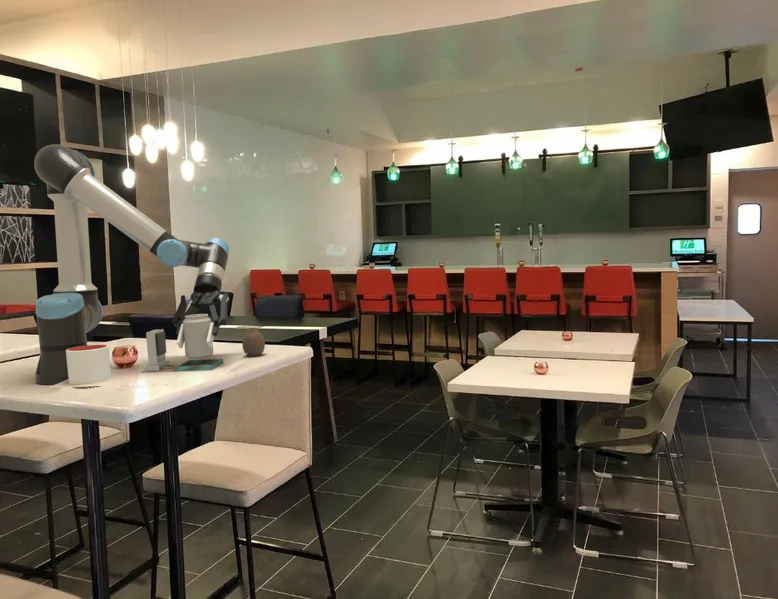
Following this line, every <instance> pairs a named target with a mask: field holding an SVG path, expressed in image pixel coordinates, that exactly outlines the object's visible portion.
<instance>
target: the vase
mask: <svg viewBox="0 0 778 599" xmlns="http://www.w3.org/2000/svg"><path fill="white" fill-rule="evenodd" d="M241 342H242V344H241V345H242V350H243V352H244V354H245V355H246V356H247V357H249V356H250V357H253V358H255V357H258V356H259V357H260V356H261V355H262V354H263V353H264V351H265V349H266V348H265V347H266V342H265V339H264V336H263V335H262V333H261V332H260V331H259V330H258V328H257V327H248V329H247V332H246V333H245V335H244V336H243V338H242V341H241Z"/></svg>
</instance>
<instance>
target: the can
mask: <svg viewBox="0 0 778 599" xmlns="http://www.w3.org/2000/svg"><path fill="white" fill-rule="evenodd" d="M211 322H212V319H211V318H210V317H209V314H208V313H197V314H196V313H195V314H194V315H187V316H185V320H184V321H183V330H184V353H185V354H184V355H185V357H187V359H188V360H202V359H208V358H211V357H212V355H213V354H214V343H213V344H212V347H209V346H208V344H207V342H206V341H207V337H208V332H209V327H210V323H211Z"/></svg>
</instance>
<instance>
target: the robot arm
mask: <svg viewBox="0 0 778 599" xmlns="http://www.w3.org/2000/svg"><path fill="white" fill-rule="evenodd" d="M33 161H34V163H33V164H34V169H35V173H36V175H37V176H38V178H39V179H40V180H42V181H43V183H45V184H46V191H47V193H46V194H47V197H48V198H49V199H50V200H52V201H53V206H54V207H53V208H54V209H53V210H54V211H53V212H54V225H55V240H56V241H55V242H56V257H57V270H58V271H57V272H58V285H57V286H56V287H55V288H54V289H53V294H48V295H43V296H41V297H39V298H38V299H37V300H36V302H35V315H36V324H37V333H38V334H37V335H38V342H39V358H38V362H37V367H36V370H35V374H34V378H35V379H34V380H35V383H36V384H40V385H56V384H60V383H62V382H65V381H67V380H68V381H69V379H68V368H67V357H66V350H67V349H69V348H73V347H79V346H87V345H88V340H87V334H88V333H90V332H92V331H94V329H95V328H97V326H98V325H99V324H100V323H101V321H102V319H103V315H104V313H103V312H104V311H103V306H102V304H101V302H100V300H99V297H98V296H99V295H98V294H99V293H98V287H97V286H95V285H94V284H93V283H92V272H91V271H92V270H91V256H90V255H91V254H90V253H91V252H90V237H89V219H88V208H89V209H90V210H91V211H93V212H94V213H95V214H97V215H98V216H99V217H101V218H103V219H104V220H106V221H107V223H109V224H111V225H113V227H115V228H116V229H117V230H119V231H120V232H122V233H123V234H124V235H125V236H127V237H129V238H130V239H131V240H133V241H134V242H135V243H137V244H138V245H140V246H141V247H142V248H143V249H145V250H147V251H148V252H149V253H151V254H152V255H153V256H154V257H156V258H157V259H158V260H159V262H161V264H163V265H164V266H166V267H168V268H176V267H180V266H182V267H188V268H189V267H190V268H197V269H198V271H197V274H196V279H195V282H194V285H193V286H194V287H193V292H192V293H191V294H190V295H188V296H186V295H185V294H184V295H181V296H180V302H179V304H178V307H177V309H176V312H175V313H174V316H173V318H172V323H173V326H174V327H175V328H176V332H175V334H176V336H177V339H176V344H177V346H178V348H179V349H183V347H184V345H185V343H184V330H183V321H184V320H185V316H187V315H194V314H196V313H199V311H200V309H201V310H202V309H209V310H210V314H211V317H212V321H213V322H212V321H211V323H210V327H209V332H208V337H207V341H206V342H207V344H208V346H209V347H212V344H213V345H214V338H215V337H217V336H218V335H219V331H220V330H219V329H220V328H221V326H227V324H228V304H229V303H230V298H229V296H228V293H226V292H225V293H223V294H221V290H222V286H223V282H224V277H225V272H226V267H227V264H228V260H229V252H230V246H229V244H228V242H226V241H225V240H224V239H223V238H220V237H211V238H208V239H207V240H205V242H204V243H202V242H194V241H187V240H181V239H178V238H177V237H175V235H173V234H172V233H170V232H168V231H167V230H166V229H165V228H163V227H162V226H160V225H159V224H158V223H156V222H155V221H153V220H152V218H149V217H148V216H147V215H145V213H143V212H142V211H140V210H139V209H137V208H136V207H135V206H133V204H131V203H130V202H128V201H127V200H125V198H122V197H121V196H120V195H119V194H117V192H115V191H113V190H112V189H111V188H110V187H108V186H107V185H105V184H104V183H103V182H102V181H100V180H99V179H97V178H96V171H95V167H94V165H93V163H92V162H91V161H90V159H89V158H88V157H87V156H86V155H85V154H83V153H82V152H79V151H78V150H75V149H72V148H70V147H68V146H66V145H63V144H57V143H55V144H54V143H53V144H48V145H46V146H43V147H42V148H41V149H39V151H38V152H37V153H36V155H35V157H34V160H33ZM219 301H220V318H219V316H218V313H217V310H216V306H215V304H216V303H218V302H219ZM189 305H190V306H189ZM188 306H189V307H188Z"/></svg>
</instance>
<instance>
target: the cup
mask: <svg viewBox="0 0 778 599" xmlns="http://www.w3.org/2000/svg"><path fill="white" fill-rule="evenodd" d="M66 357H67V368H68V384H71V385H86V386H71V388H73V389H76V390H86V389H87V390H88V388H89V389H95V387H96V388H100V387H101V385H93V386H92V385H91V386H87V385H88V384H95V383H101V382H105V381H107V380H111V379H112V372H111V371H112V370H111V360H110V347H109V345H108V344H90V345H89V344H87V346H79V347H73V348H69V349H67V350H66Z"/></svg>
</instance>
